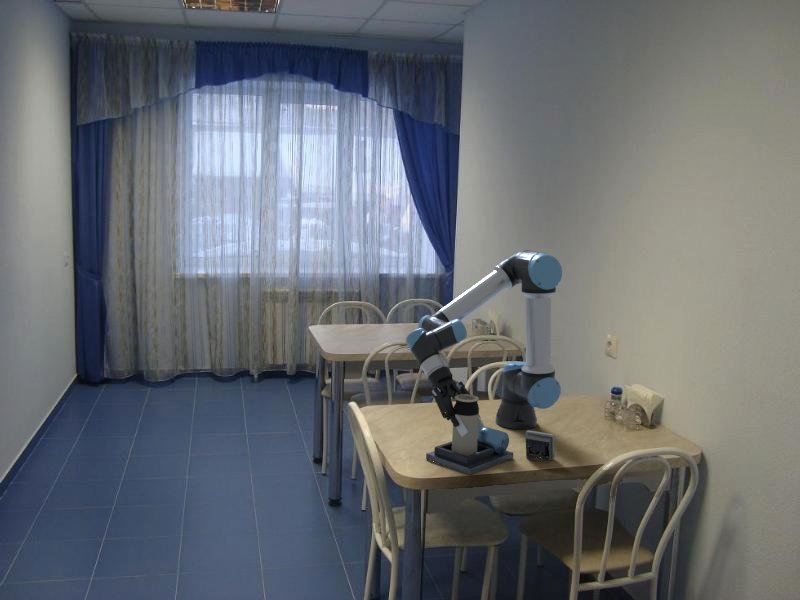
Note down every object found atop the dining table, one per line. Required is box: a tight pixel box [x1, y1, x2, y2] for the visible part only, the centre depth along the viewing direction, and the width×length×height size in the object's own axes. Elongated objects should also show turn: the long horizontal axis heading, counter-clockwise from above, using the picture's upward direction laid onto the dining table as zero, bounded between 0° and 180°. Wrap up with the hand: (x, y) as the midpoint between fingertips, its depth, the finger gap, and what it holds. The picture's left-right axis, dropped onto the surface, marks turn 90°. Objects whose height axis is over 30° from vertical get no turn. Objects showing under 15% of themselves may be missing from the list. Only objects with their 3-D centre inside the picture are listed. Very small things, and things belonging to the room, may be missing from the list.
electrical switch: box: [525, 429, 556, 463], centre depth 256 cm, size 9×5×9 cm, turn 65°
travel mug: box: [451, 394, 480, 456], centre depth 251 cm, size 8×8×18 cm
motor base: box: [425, 426, 514, 476], centre depth 254 cm, size 22×18×9 cm
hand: (473, 431), depth 249 cm, fingers closed on travel mug, 8 cm apart
